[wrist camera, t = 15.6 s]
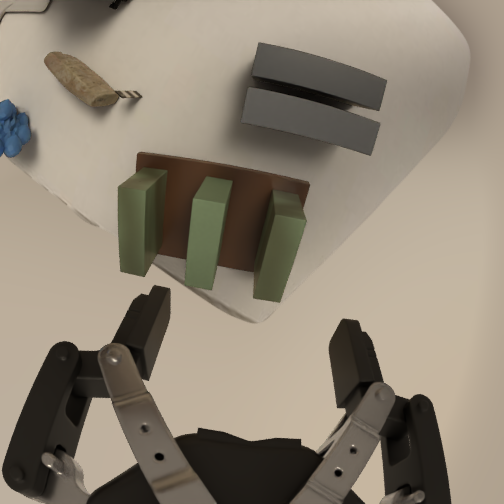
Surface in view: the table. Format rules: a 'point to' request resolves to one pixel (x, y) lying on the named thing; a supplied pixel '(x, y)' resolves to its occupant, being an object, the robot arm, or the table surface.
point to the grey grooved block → (309, 112)
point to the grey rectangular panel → (22, 5)
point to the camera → (116, 4)
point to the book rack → (236, 226)
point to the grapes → (12, 129)
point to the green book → (207, 231)
